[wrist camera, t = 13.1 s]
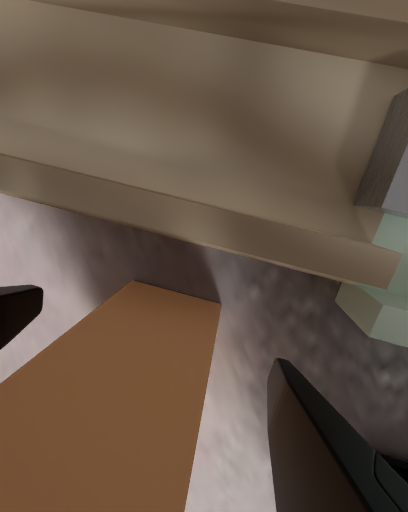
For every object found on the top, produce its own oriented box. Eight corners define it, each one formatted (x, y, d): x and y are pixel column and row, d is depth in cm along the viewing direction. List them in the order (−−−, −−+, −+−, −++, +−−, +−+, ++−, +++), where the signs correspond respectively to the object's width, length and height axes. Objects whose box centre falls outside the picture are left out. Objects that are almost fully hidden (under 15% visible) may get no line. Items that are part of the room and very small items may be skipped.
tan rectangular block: (201, 380, 13) (121, 753, 4) (121, 356, 13) (-100, 653, 5) (221, 304, 12) (165, 616, 3) (132, 280, 12) (-142, 494, 3)
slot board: (341, 275, 11) (380, 303, 8) (16, 191, 12) (-56, 188, 9) (437, 37, 8) (541, -50, 5) (23, -33, 10) (-69, -131, 7)
